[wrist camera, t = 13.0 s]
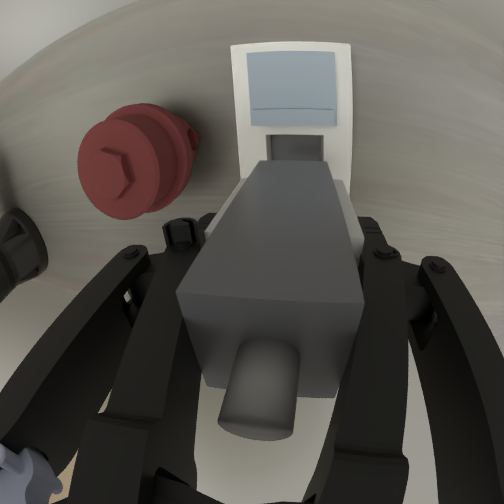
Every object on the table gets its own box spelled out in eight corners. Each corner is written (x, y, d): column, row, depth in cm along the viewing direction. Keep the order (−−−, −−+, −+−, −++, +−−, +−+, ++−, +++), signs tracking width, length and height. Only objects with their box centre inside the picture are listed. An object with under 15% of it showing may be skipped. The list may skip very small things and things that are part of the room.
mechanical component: (127, 114, 27) (205, 88, 24) (149, 190, 32) (225, 176, 29) (50, 136, 16) (141, 89, 14) (86, 240, 21) (180, 228, 19)
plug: (262, 220, 18) (189, 439, 6) (259, 160, 16) (134, 362, 4) (324, 222, 17) (331, 456, 6) (327, 161, 15) (377, 389, 3)
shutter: (252, 124, 22) (244, 128, 19) (248, 54, 18) (238, 47, 15) (335, 124, 20) (341, 129, 17) (333, 53, 17) (338, 45, 14)
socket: (251, 206, 31) (244, 221, 27) (240, 52, 22) (230, 45, 18) (341, 208, 29) (346, 225, 25) (343, 51, 20) (349, 44, 16)
